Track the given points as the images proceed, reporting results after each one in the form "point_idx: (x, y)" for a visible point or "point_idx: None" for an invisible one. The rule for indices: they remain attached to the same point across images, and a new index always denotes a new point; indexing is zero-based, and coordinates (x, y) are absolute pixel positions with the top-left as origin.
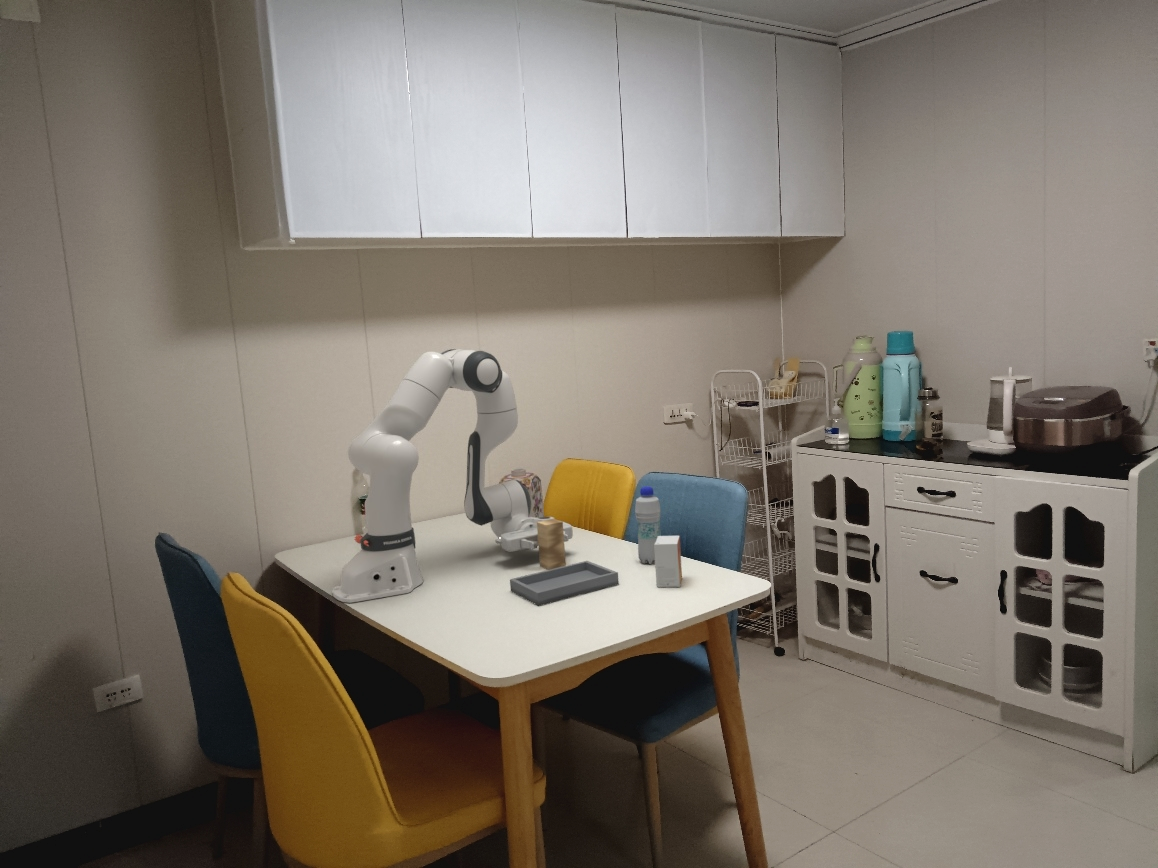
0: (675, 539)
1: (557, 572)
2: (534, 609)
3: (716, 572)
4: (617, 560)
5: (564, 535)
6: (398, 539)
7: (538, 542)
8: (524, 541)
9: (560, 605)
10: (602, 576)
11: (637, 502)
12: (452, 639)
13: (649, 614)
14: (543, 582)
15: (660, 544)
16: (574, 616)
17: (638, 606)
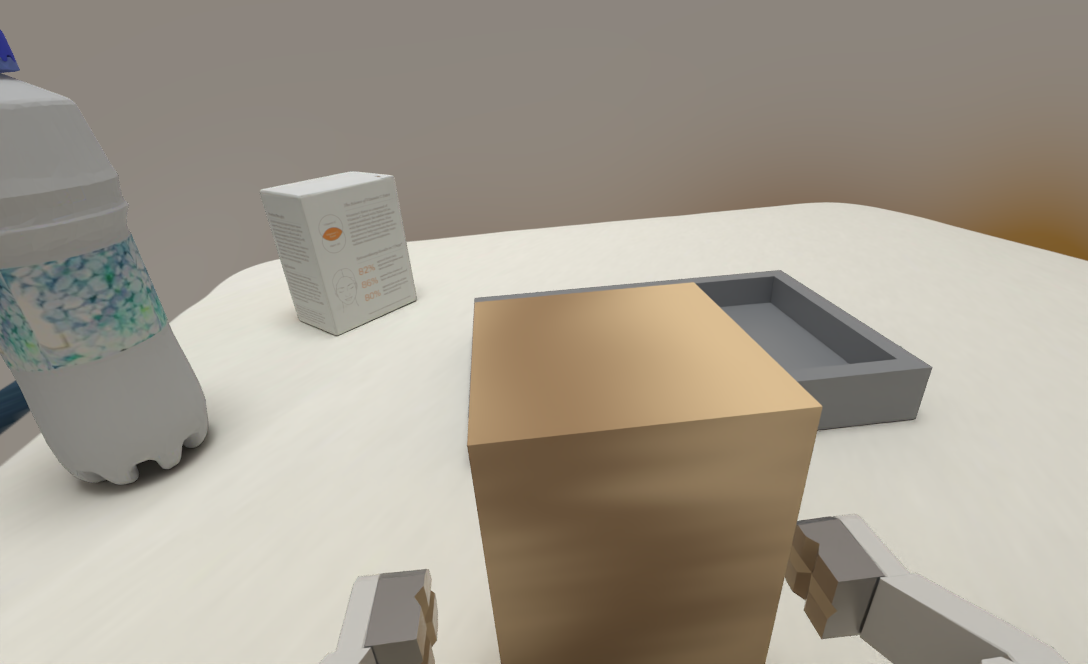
0: (314, 179)
1: None
2: None
3: (207, 316)
4: (191, 556)
5: (400, 575)
6: None
7: (766, 643)
8: (998, 624)
9: None
10: (538, 292)
11: (57, 110)
12: (998, 258)
13: (541, 244)
14: None
15: (381, 174)
16: (686, 263)
17: (535, 261)
